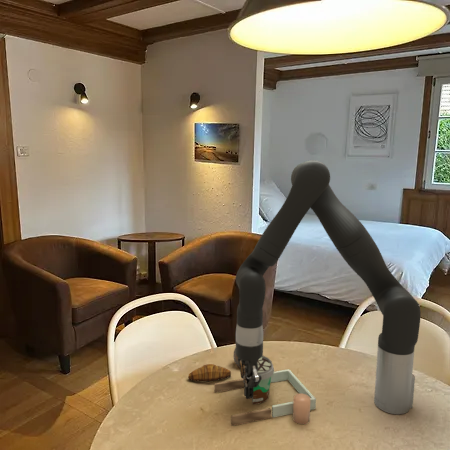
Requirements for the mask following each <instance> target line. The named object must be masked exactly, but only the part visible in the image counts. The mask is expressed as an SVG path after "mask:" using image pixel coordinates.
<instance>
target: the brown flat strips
mask: <svg viewBox="0 0 450 450" xmlns="http://www.w3.org/2000/svg"><path fill="white" fill-rule="evenodd" d="M213 385H214V387H213V388H214V391H213V392H214V393H222V392H226V391H232V390H233V391H234V390H237V389H244V383H243V379H242V378H238V379H232V380H227V381H222V382H221V381H220V382H215V383H214V384H213ZM271 418H272V407H267V408H261V409H256V410H252V411H246V412H245V411H244V412H241V413H236V414H232V415H230V426H231V427H232V426H237V425H238V426H239V425H242V424H243V425H244V424H247V423H253V422H257V421H263V420H268V419H271Z"/></svg>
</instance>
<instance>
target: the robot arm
mask: <svg viewBox="0 0 450 450" xmlns="http://www.w3.org/2000/svg"><path fill="white" fill-rule="evenodd" d="M290 177H291V178H290V183H291V188H290V191H289V193H288V195H287V197H286V198H285V200H284V202H283V204H282V206H281V207H280V209H279V210H278V212H276V214H275V215H274V217H273V219H271V221H270V223H268V225H267V227H266V228H265V229H264V231H263V233H262V234H261V236H260V238H259V240H258V241H257V242H256V245H255V246H254V248H253V250H252V252H251V253H250V254H249V255H248V256H247V257H246V258H245V260H244V261H243V262H242V263H241V265H240V266H239V269H237V272H236V275H235V283H236V285H237V287H238V290H239V292H238V293H239V303H238V305H237V307H236V328H235V347H236V356H237V357H238V363H239V367H238V368H239V372H240V379H243V383H244V388H243V389H244V390H243V391H244V392H243V395H244V397H245V398H246V399H247V400H248V399H252V398H253V388H254V387H257V386H258V384H259V383H260V381H261V379H262V377H261V375H258V374H257V370H258V363H257V361H258V360H259V359H260V358H261V357H262V356H264V327H263V325H264V324H263V322H264V321H263V318H264V316H263V315H264V314H263V312H264V311H263V309H264V304H265V297H266V281H265V278H264V275H265V273H266V272H267V270H269V268H270V267H274V266H275V265H276V264H277V262H278V261H279V259H280V257H282V254H283V252H284V251H285V249H286V247H287V245H288V244H289V241H291V238H292V237H293V235H294V233H295V232H296V230H297V228H298V226H299V225H300V223H301V222H302V221H303V219H304V218H305V215H306V214H307V213H308V212H309V210H310V209H311V210H312V211H313V213H314V214H315V216H316V217H317V219H318V221H319V222H320V224H321V226H322V227H323V229H324V231H325V232H326V234H327V237H328V238H329V239H330V241H331V242H332V244H333V246H334V247H335V248H336V250H337V252H338V253H339V254H340V256H341V257H342V258H343V259H344V261H345V262H346V264H347V265H348V266H349V267H350V269H352V271H353V272H354V273H355V274H356V275H357V276H358V277H359V278H360V279H361V280H362V281H363V282H364V284H365V285H366V286H367V288H368V290H369V291H370V292H369V293H370V294H371V295H372V297H373V298H374V300H375V303H376V304H377V306H378V310H379V311H380V313H381V314H382V327H381V333H379V335H378V338H377V339H378V340H377V352H376V353H377V354H376V365H375V366H376V369H375V384H374V399H373V401H374V405H375V406H376V407H377V408H378V409H379V410H381V411H383V412H385V413H388V414H392V415H404V414H406V413H408V412H409V411H410V409H412V408H414V407H413V405H414V397H415V396H414V394H415V383H416V382H415V380H416V375H415V374H413V372H414V371H413V369H414V358H415V348H416V347H415V346H416V345H417V343H418V339H419V335H420V334H419V333H420V325H421V312H422V311H421V307H420V304H419V302H418V301H417V299H415V297H414V296H413V295H412V294H411V293H410V292H409V291H408V290H407V289H405V287H404V286H403V285H402V284H401V283H400V282H399V280H398V279H397V278H396V277H395V276H394V274H392V272H391V270H390V269H389V268H388V266H387V264H386V261H385V260H384V257H383V255H382V253H381V250H380V249H379V247H378V245H377V243H376V241H374V239H373V237H372V235H371V234H370V233H369V231H368V230H367V229H366V226H365V225H363V223H362V222H361V221H360V220H359V219H358V218H357V217H356V216H355V214H353V212H351V210H349V209H348V208H347V207H346V205H344V204H343V203H342V202H341V201H340V199H339V198H338V197H337V195H336V193H335V192H334V191H333V189H332V187H331V186H330V182H331V173H330V170H329V168H328V167H327V165H326V164H325V163H323V162H321V161H319V160H311V159H310V160H306V161H303V162H301V163H299V164H297V165H296V166H295V167H294V168H293V170H292V172H291V176H290Z"/></svg>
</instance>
